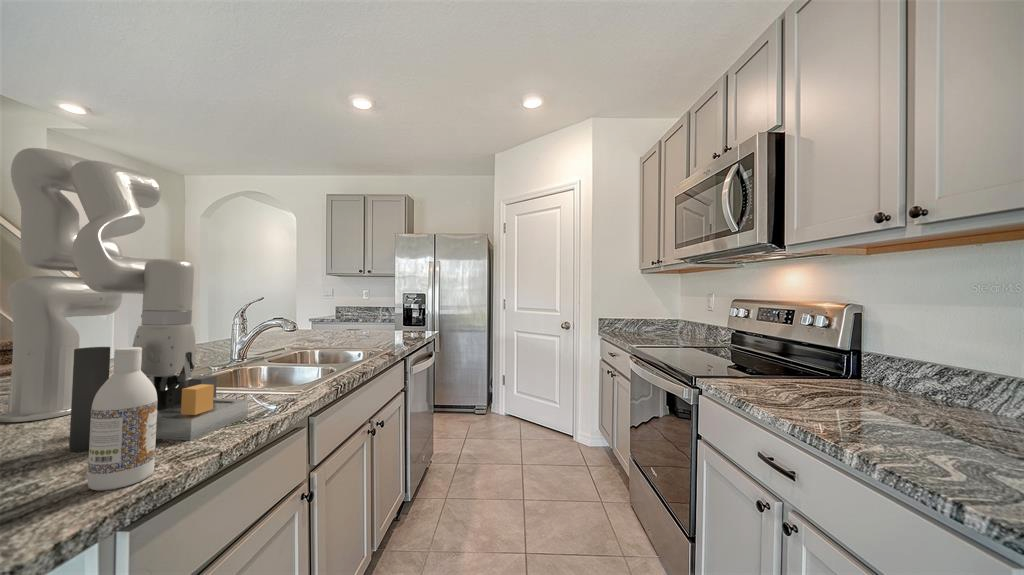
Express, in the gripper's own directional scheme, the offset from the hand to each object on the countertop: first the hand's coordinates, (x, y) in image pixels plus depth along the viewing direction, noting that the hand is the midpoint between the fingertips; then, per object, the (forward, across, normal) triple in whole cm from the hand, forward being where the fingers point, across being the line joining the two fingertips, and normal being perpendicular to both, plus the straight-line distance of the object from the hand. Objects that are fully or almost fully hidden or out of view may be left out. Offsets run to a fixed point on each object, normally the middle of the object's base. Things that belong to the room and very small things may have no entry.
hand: (162, 408), depth 75 cm
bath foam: (+5, +14, -19) cm, 24 cm away
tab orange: (+1, +8, 0) cm, 8 cm away
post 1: (+5, -5, -8) cm, 11 cm away
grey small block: (+1, +1, +8) cm, 8 cm away
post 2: (+5, -6, +8) cm, 12 cm away
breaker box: (+5, +4, +3) cm, 7 cm away
